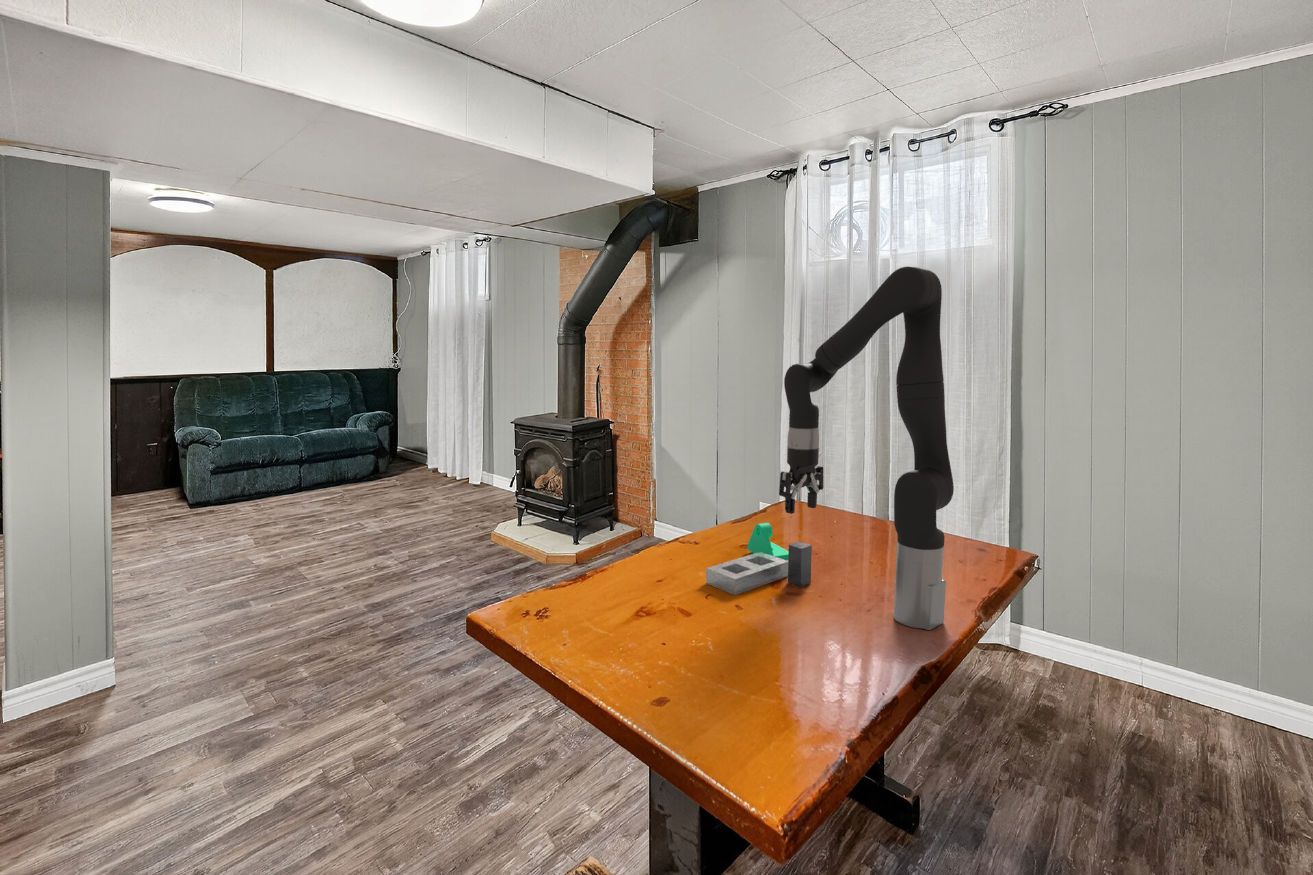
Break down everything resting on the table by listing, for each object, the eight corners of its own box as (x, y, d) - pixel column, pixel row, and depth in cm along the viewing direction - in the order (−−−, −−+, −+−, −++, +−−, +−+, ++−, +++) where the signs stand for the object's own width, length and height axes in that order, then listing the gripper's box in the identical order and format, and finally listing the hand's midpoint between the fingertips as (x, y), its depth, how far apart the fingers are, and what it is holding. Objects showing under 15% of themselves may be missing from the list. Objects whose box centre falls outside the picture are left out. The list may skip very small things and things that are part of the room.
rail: (788, 575, 163) (788, 561, 162) (734, 595, 151) (735, 579, 150) (759, 565, 171) (759, 551, 170) (706, 583, 158) (706, 568, 158)
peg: (810, 583, 158) (811, 545, 156) (800, 587, 155) (801, 548, 154) (797, 579, 161) (798, 541, 159) (787, 582, 158) (788, 544, 157)
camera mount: (792, 562, 174) (793, 526, 172) (768, 566, 171) (769, 529, 170) (770, 550, 185) (771, 516, 183) (747, 553, 182) (747, 518, 181)
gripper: (796, 450, 146) (794, 518, 148) (833, 444, 155) (831, 508, 157) (771, 446, 151) (770, 512, 154) (808, 441, 160) (806, 502, 163)
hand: (801, 510), depth 155 cm, fingers open, 8 cm apart
